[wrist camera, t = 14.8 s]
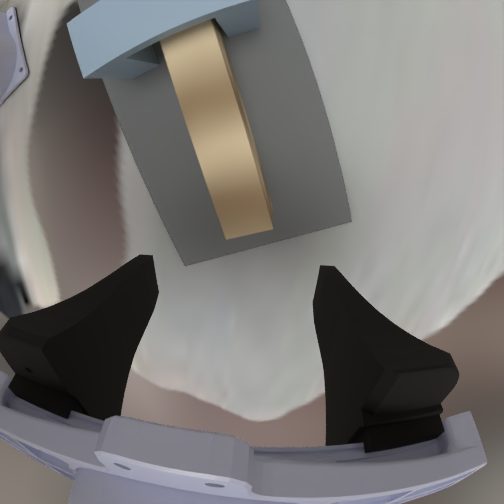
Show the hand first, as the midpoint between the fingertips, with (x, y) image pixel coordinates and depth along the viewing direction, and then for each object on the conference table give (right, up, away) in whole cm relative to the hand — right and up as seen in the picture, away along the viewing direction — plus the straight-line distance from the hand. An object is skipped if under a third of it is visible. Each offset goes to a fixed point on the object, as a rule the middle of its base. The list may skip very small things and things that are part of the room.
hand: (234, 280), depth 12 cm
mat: (-5, +18, +1) cm, 19 cm away
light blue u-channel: (-4, +16, +2) cm, 17 cm away
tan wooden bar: (-1, +11, +5) cm, 13 cm away
